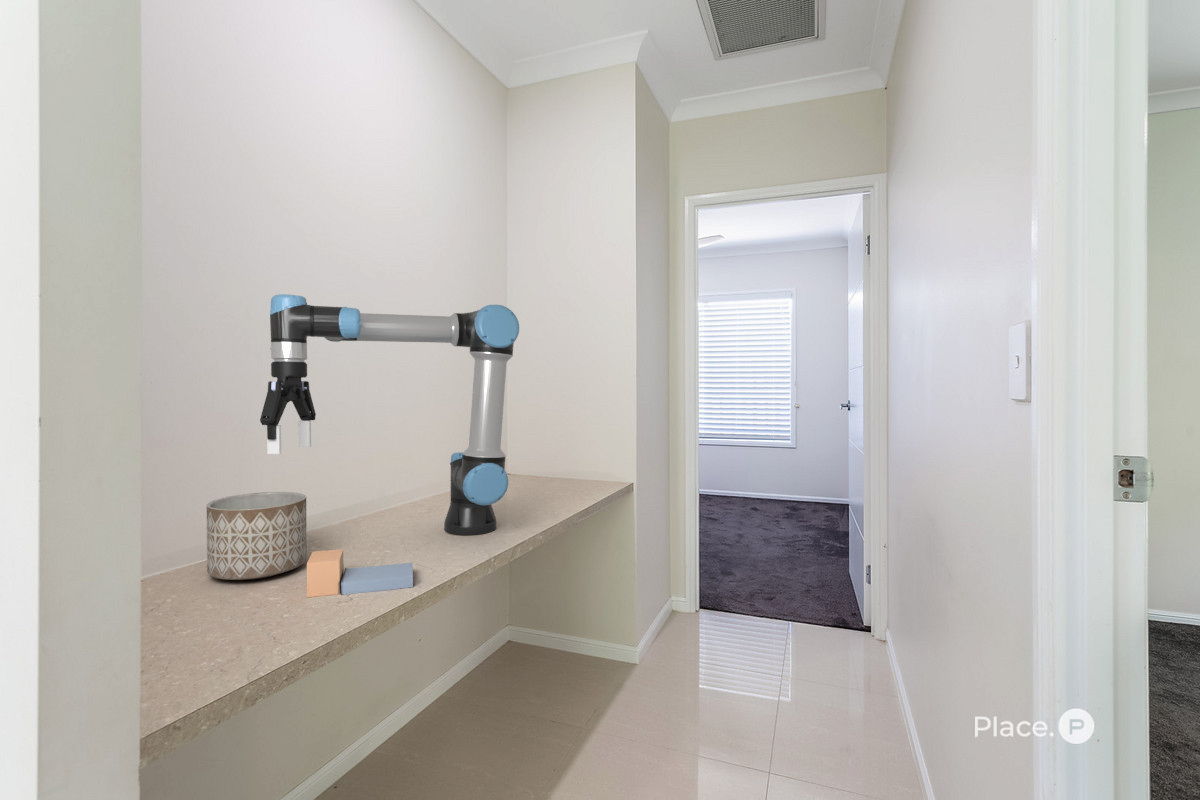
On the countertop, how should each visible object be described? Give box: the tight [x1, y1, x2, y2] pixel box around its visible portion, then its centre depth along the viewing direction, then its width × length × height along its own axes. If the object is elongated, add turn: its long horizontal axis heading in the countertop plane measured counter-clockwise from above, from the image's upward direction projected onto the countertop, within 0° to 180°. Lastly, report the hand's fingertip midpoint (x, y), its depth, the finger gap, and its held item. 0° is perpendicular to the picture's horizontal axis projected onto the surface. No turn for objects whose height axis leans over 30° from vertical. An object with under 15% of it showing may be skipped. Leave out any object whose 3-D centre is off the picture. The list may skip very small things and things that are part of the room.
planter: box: [206, 491, 308, 581], centre depth 128 cm, size 19×19×16 cm
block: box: [306, 548, 344, 598], centre depth 118 cm, size 6×8×7 cm
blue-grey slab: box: [340, 562, 414, 596], centre depth 122 cm, size 14×9×3 cm, turn 109°
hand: (290, 450), depth 135 cm, fingers open, 13 cm apart
